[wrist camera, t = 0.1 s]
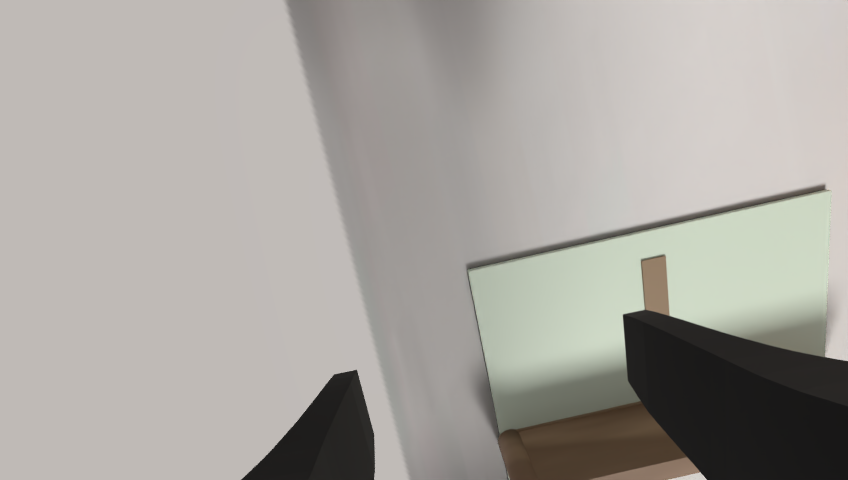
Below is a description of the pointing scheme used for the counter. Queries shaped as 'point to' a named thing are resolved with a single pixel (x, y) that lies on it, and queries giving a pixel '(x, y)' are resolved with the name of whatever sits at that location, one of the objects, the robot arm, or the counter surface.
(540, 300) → the card
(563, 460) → the fence fixed
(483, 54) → the counter surface
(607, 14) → the counter surface
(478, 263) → the counter surface
